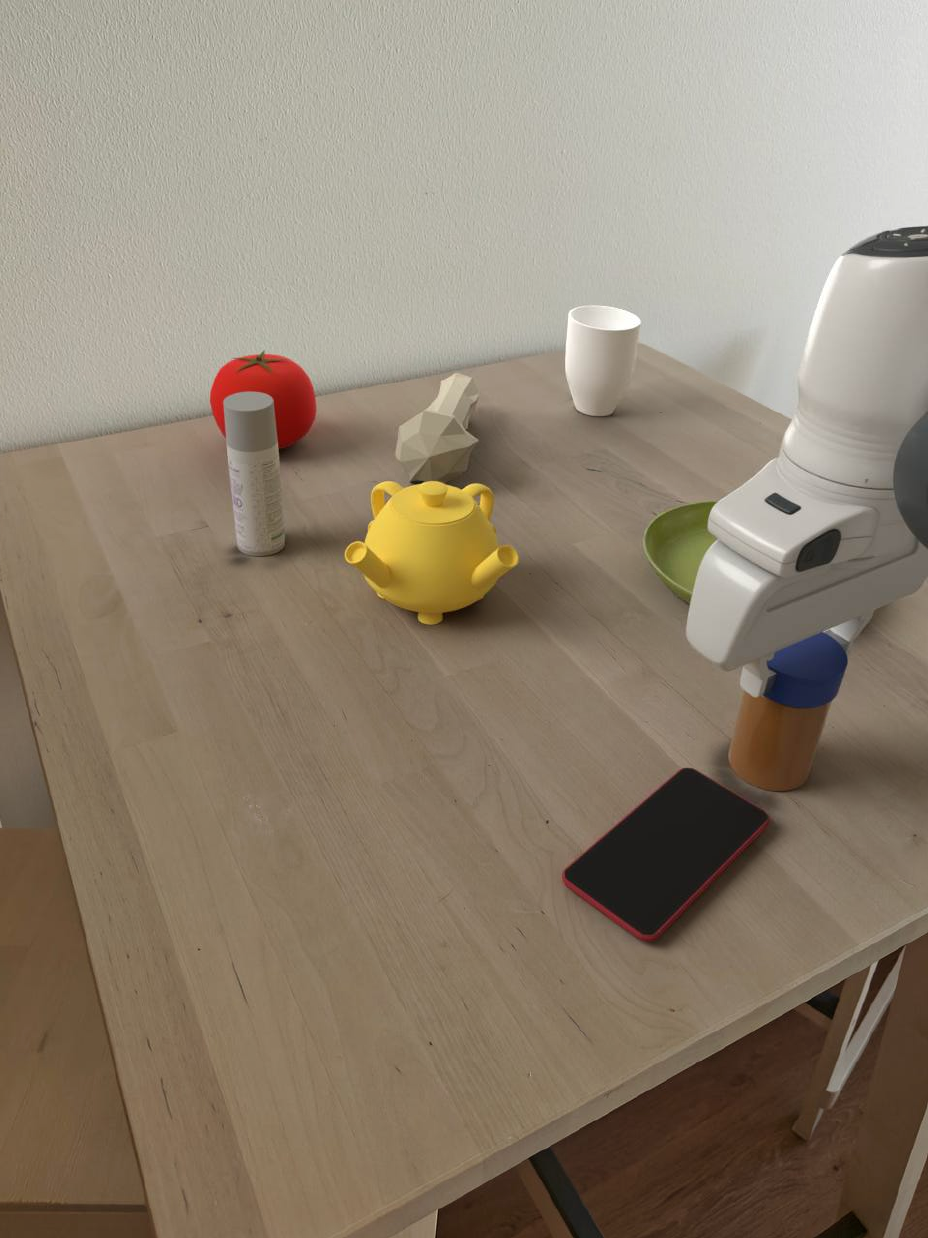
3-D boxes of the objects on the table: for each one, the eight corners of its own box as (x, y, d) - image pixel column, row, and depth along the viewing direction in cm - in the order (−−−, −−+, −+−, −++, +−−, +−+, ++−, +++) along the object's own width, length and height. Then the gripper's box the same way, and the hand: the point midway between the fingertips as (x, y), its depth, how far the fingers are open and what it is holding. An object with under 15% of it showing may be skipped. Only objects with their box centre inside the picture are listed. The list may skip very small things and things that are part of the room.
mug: (620, 427, 125) (633, 332, 119) (551, 415, 128) (560, 321, 121) (638, 393, 135) (651, 304, 128) (574, 383, 137) (583, 294, 130)
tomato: (288, 415, 125) (283, 332, 119) (335, 451, 117) (332, 364, 111) (197, 436, 119) (187, 350, 113) (240, 475, 111) (232, 385, 105)
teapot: (346, 639, 87) (342, 526, 81) (356, 556, 98) (354, 451, 92) (512, 643, 88) (522, 531, 81) (504, 560, 99) (512, 456, 92)
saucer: (767, 673, 86) (775, 642, 84) (594, 567, 98) (598, 538, 96) (900, 593, 97) (910, 565, 95) (728, 507, 109) (734, 480, 108)
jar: (825, 769, 76) (860, 662, 70) (775, 803, 73) (807, 694, 67) (761, 726, 80) (789, 621, 74) (711, 757, 77) (736, 650, 71)
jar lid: (725, 670, 72) (732, 642, 70) (782, 639, 75) (790, 612, 74) (800, 720, 68) (809, 692, 66) (857, 685, 71) (867, 657, 69)
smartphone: (556, 875, 65) (686, 763, 74) (555, 884, 66) (684, 771, 75) (649, 942, 61) (775, 815, 70) (647, 952, 62) (772, 824, 71)
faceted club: (378, 484, 109) (421, 403, 129) (452, 512, 109) (483, 427, 130) (401, 411, 104) (442, 339, 125) (478, 440, 104) (506, 364, 125)
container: (227, 549, 98) (211, 404, 90) (255, 527, 102) (241, 387, 93) (267, 561, 97) (255, 415, 88) (294, 539, 100) (284, 397, 92)
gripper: (908, 444, 70) (856, 609, 78) (689, 514, 60) (655, 693, 68) (989, 482, 66) (925, 651, 74) (767, 563, 56) (721, 748, 64)
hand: (793, 672), depth 71 cm, fingers closed on jar lid, 6 cm apart
